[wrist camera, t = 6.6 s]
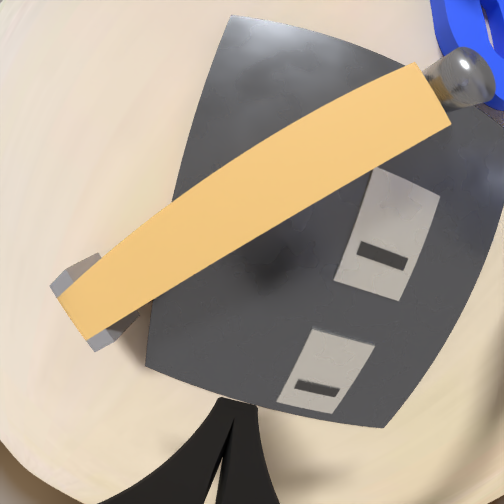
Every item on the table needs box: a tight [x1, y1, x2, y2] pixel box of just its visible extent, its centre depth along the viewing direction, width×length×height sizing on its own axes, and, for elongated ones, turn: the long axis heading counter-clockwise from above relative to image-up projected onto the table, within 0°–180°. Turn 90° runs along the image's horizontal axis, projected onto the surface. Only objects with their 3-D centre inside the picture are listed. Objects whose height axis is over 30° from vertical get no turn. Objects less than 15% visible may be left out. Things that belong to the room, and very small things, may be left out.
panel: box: [145, 15, 504, 428], centre depth 12 cm, size 18×22×6 cm
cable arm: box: [50, 62, 451, 352], centre depth 12 cm, size 20×4×3 cm, turn 122°
